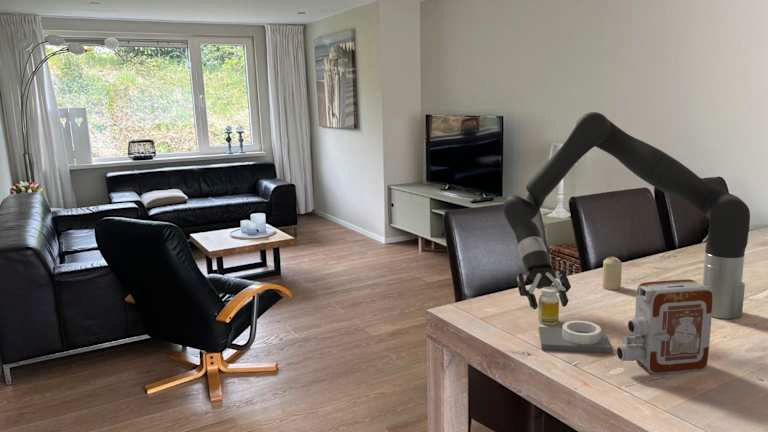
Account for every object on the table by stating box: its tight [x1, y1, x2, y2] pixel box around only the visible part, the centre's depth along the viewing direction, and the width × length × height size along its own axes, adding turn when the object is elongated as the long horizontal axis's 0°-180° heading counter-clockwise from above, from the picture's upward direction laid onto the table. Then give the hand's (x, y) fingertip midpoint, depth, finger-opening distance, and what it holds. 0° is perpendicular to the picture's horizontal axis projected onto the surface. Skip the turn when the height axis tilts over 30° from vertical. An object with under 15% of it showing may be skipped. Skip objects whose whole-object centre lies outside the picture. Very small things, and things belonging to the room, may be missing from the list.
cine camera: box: [616, 278, 713, 375], centre depth 126 cm, size 9×19×20 cm, turn 95°
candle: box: [602, 256, 623, 291], centre depth 181 cm, size 6×6×10 cm
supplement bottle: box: [537, 287, 560, 326], centre depth 156 cm, size 5×5×10 cm
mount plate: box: [538, 320, 611, 354], centre depth 143 cm, size 16×11×4 cm
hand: (550, 306), depth 154 cm, fingers open, 8 cm apart
